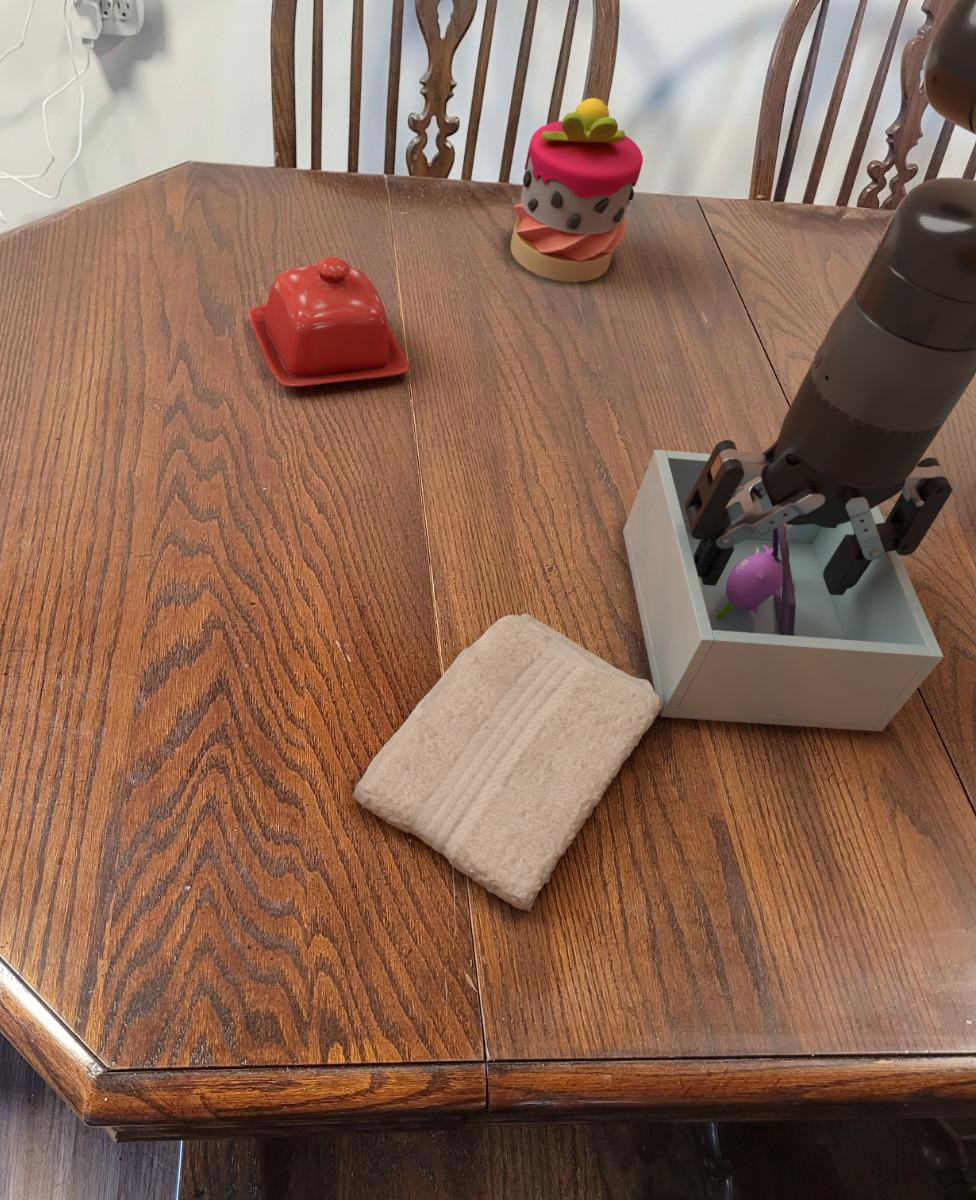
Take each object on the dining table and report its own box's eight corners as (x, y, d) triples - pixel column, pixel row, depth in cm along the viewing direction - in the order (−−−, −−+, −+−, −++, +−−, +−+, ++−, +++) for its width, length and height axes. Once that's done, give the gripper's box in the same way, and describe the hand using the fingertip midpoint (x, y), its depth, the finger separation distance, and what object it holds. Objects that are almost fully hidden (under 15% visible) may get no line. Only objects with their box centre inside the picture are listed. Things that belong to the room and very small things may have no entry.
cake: (497, 224, 104) (528, 69, 93) (598, 227, 106) (641, 75, 95) (517, 283, 98) (554, 124, 86) (625, 286, 99) (675, 130, 88)
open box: (813, 546, 78) (861, 466, 72) (881, 732, 67) (944, 656, 61) (622, 531, 77) (654, 448, 71) (659, 717, 66) (701, 639, 60)
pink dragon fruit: (809, 601, 63) (791, 501, 69) (718, 606, 65) (709, 507, 71) (803, 670, 68) (787, 571, 74) (719, 673, 70) (710, 575, 75)
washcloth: (661, 711, 67) (677, 683, 64) (526, 928, 56) (538, 903, 54) (501, 620, 70) (510, 590, 68) (346, 808, 60) (350, 780, 57)
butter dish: (369, 305, 93) (379, 217, 86) (412, 385, 86) (426, 295, 80) (243, 319, 90) (243, 228, 83) (277, 403, 83) (280, 311, 76)
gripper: (771, 415, 54) (673, 617, 66) (1036, 438, 54) (890, 632, 67) (739, 329, 58) (653, 532, 71) (983, 351, 59) (856, 547, 72)
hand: (768, 580), depth 69 cm, fingers open, 8 cm apart
